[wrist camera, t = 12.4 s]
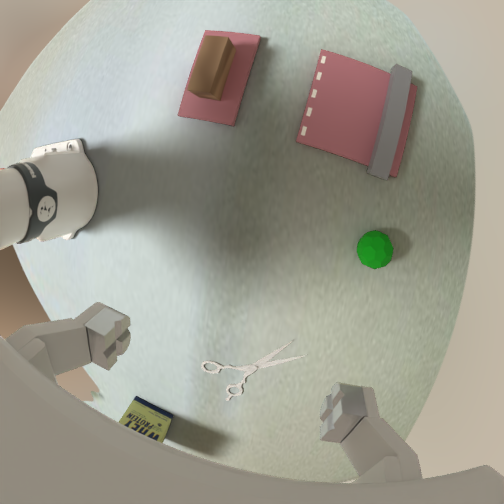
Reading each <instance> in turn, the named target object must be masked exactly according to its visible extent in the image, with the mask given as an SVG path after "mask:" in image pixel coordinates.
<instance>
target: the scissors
mask: <svg viewBox="0 0 504 504" xmlns="http://www.w3.org/2000/svg"><path fill="white" fill-rule="evenodd" d="M291 342H292V341H291ZM291 342H289V343H288V344H286V345H284V346H282V347H281V348H279V349H277V350H275V351H274V352H272V353H270V354H268V355H267V356H265V357H263V358H262V359H260V360H258V361H257V362H255V363H253V364H249V365H244V366H237V367H236V366H232V365H225V366H223V365H221V364H219V363H217V362H215V361H210V360H207V361H204V362H203V363H202V365H201V367H202V369H203V370H204V371H206V372H208V373H218V372H219V371H220V369H224V368H232V369H237V370H240V371H245V374H244V377H243V380H242V381H241V382H240V383H238V384H229V385H228V386H227V388H226V392H227V393H228V394H229V396H228V397H227V398H226V400H227V401H229V400H230V398H231V396H239V395H241V394H242V391H243V389H242V387H241V386H242V384H243V383H245V378H246V377H247V376H249V375H250V374H252V373H253V372H254V371H256V370H257V369H259V368H264V367H269V366H273V365H277V364H281V363H284V362H287V361H291V360H294V359H298V358H301V357H303V356H299V357H293V358H287V359H281V360H275V361H269V360H270V359H271V358H273V357H274V356H275V355H276V354H278V353H279V352H280V351H281V350H283V349H284V348H285V347H286V346H287V345H289V344H290V343H291ZM304 356H306V355H304ZM267 361H269V362H267ZM206 363H212V364H215V365H216V366H217V369H216V370H207V369H206V368H205V367H204V364H206ZM231 387H238V388H239V389H240V392H239V393H236V394H233V393H230V391H229V390H228V389H229V388H231Z"/></svg>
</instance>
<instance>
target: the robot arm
mask: <svg viewBox="0 0 504 504" xmlns="http://www.w3.org/2000/svg"><path fill="white" fill-rule="evenodd" d="M97 197H98V186H97V179H96V174H95V171H94V168H93V166H92V164H91V162H90V161H89V160H88V158H87V157H86V155H85V153H84V149H83V145H82V142H81V140H80V139H73V140H68V141H63V142H59V143H54V144H50V145H45V146H41V147H37V148H35V149H34V150H33V153H32V155H31V158H26V159H22V160H21V161H20V162H19V163H16V164H13V165H11V166H9V167H8V168H7V169H4V168H2V169H0V250H1V249H3V248H6V247H8V246H10V245H12V244H14V243H17V244H21V243H24V242H29V241H31V240H32V239H35V238H36V239H38V240H39V241H40V242H44V241H47V240H51V239H54V238H57V237H63V238H64V239H65V240H69V239H72V238H73V236H74V235H75V233H76V231H77V230H78V229H80V228H82V227H84V226H85V225H86V224H87V223H88V222H89V221H90V219H91V218H92V216H93V214H94V211H95V208H96V204H97ZM129 326H130V318H129V317H128V316H127V315H125V314H123V313H121V312H119V311H117V310H115V309H113V308H111V307H108V306H106V305H104V304H102V303H100V302H96V303H95V304H93V305H92V306H91V307H89V308H88V309H87V310H85V311H84V312H83V313H82V314H80V315H79V316H78V317H76V318H75V319H74V320H73V319H72V318H69V319H63V320H57V321H50V322H44V323H38V324H31V325H25V326H23V327H21V328H20V329H18V330H17V331H16V332H14V333H13V334H11V335H10V336H9V337H8V338H6V339H4V338H3V337H1V336H0V504H504V477H503V476H502V475H501V474H500V473H498V472H497V471H496V470H494V469H493V468H492V467H490V466H488V465H483V466H479V467H476V468H472V469H469V470H465V471H461V472H457V473H452V474H447V475H443V476H437V477H432V478H425V479H422V474H421V469H420V464H419V460H418V456H417V454H416V453H415V452H414V451H413V450H412V449H411V447H410V446H409V445H408V444H407V443H406V442H405V441H404V440H403V439H402V438H401V437H400V436H399V435H398V434H397V433H396V432H395V431H394V429H393V428H392V427H391V426H390V425H389V424H388V423H387V422H386V421H385V420H384V419H383V418H380V415H379V411H378V406H377V402H376V398H375V393H374V389H373V388H372V387H364V386H357V385H351V384H345V383H339V382H336V383H335V384H334V386H333V387H332V389H331V390H332V394H330V395H328V396H326V398H325V399H324V401H323V404H322V406H321V411H320V419H321V420H322V421H323V424H322V425H321V426H320V440H322V441H328V442H335V443H340V445H341V447H342V448H343V450H344V452H345V454H346V455H347V457H348V458H349V460H350V462H351V463H352V465H353V467H354V468H355V470H356V472H357V473H358V475H359V478H358V479H356V480H355V481H354V482H352V483H328V482H315V481H305V480H297V479H289V478H283V477H277V476H271V475H265V474H260V473H256V472H251V471H247V470H242V469H238V468H234V467H231V466H227V465H223V464H220V463H216V462H213V461H210V460H207V459H204V458H200V457H197V456H195V455H192V454H189V453H186V452H183V451H181V450H178V449H175V448H173V447H170V446H168V445H165V444H163V443H161V442H158V441H156V440H154V439H151V438H149V437H147V436H145V435H143V434H141V433H138V432H136V431H134V430H132V429H130V428H128V427H126V426H124V425H122V424H120V423H119V422H117V421H115V420H113V419H111V418H109V417H108V416H106V415H104V414H102V413H101V412H99V411H97V410H96V409H94V408H92V407H91V406H89V405H87V404H86V403H84V402H83V401H81V400H80V399H78V398H77V397H75V396H74V395H72V394H71V393H69V392H68V391H66V390H65V389H63V388H62V387H61V386H59V385H58V383H57V380H56V377H55V376H56V375H59V374H62V373H64V372H67V371H70V370H73V369H76V368H78V367H81V366H84V365H87V364H89V363H91V362H93V363H95V364H97V365H99V366H101V367H103V368H104V369H106V370H108V371H109V370H110V368H111V367H112V366H113V365H114V364H115V363H116V362H117V356H118V355H122V354H124V352H125V351H126V350H127V348H128V346H129V344H130V338H131V337H130V332H129V330H128V327H129Z"/></svg>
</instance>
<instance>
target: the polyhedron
mask: <svg viewBox="0 0 504 504" xmlns="http://www.w3.org/2000/svg"><path fill="white" fill-rule="evenodd" d="M357 253H358V256H359V259H360V260H361V262H362V264H364V265H366V266H368V267H371V268H373V269H377V268H381V267H384V266H386V265H387V264H388V263H389V262H390V261H391V258H392V254H393V246H392V244H391V242H390V240H389V238H388V236H387V235H386V234H383V233H381V232H379V231H376V230H375V231H370V232H367V233H366V234H364V236H363V237H362V238H361V239H360V240H359V242H358V246H357Z"/></svg>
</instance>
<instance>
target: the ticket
mask: <svg viewBox="0 0 504 504" xmlns="http://www.w3.org/2000/svg"><path fill="white" fill-rule="evenodd" d="M411 77H412V71H411V70H409V69H407V68H404V67H402V66H400V65H398V64H396V65H395V66H393V67H392V69H391V74H390V73H387V72H385V71H383V70H380V69H378V68H375V67H373V66H370V65H368V64H365V63H362V62H360V61H357V60H354V59H351V58H348V57H345V56H342V55H339V54H336V53H333V52H329V51H326V50H322V49H321V53H320V56H319V60H318V64H317V67H316V71H315V75H314V78H313V82H312V86H311V89H310V93H309V97H308V100H307V104H306V107H305V111H304V115H303V118H302V122H301V125H300V129H299V132H298V136H297V139H296V142H298V143H301V144H305V145H308V146H311V147H314V148H318V149H321V150H324V151H327V152H330V153H333V154H336V155H339V156H341V157H344V158H347V159H350V160H353V161H355V162H358V163H361V164H363V165H366V166H368V169H367V173H368V174H370V175H373V176H375V177H378V178H380V179H383V180H388V177H389V175H391V176H393V177H397V174H398V170H399V167H400V163H401V159H402V156H403V152H404V148H405V144H406V140H407V136H408V131H409V127H410V122H411V118H412V113H413V108H414V103H415V97H416V92H417V86H415V85H413V84H411Z"/></svg>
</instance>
